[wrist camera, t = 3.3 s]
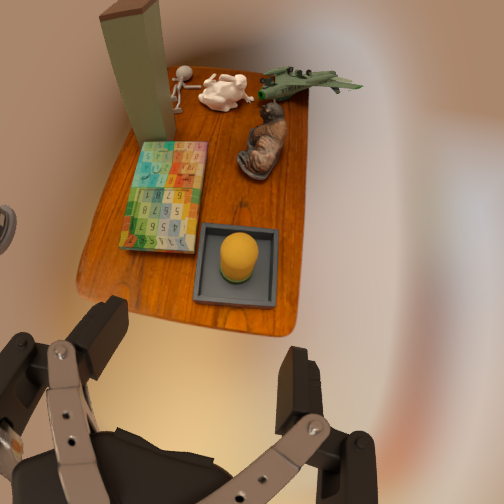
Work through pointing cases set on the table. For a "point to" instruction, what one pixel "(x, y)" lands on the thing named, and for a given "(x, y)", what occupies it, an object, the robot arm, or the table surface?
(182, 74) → the figurine
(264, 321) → the table surface
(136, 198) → the puzzle game
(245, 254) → the corn toy
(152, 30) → the plinth
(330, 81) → the airplane
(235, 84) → the rabbit figurine
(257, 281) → the basket
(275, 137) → the cat statue
